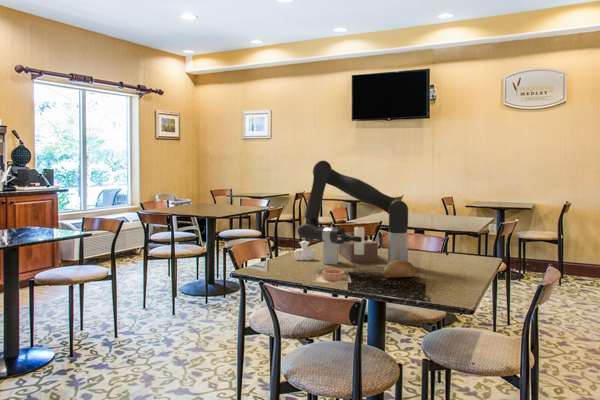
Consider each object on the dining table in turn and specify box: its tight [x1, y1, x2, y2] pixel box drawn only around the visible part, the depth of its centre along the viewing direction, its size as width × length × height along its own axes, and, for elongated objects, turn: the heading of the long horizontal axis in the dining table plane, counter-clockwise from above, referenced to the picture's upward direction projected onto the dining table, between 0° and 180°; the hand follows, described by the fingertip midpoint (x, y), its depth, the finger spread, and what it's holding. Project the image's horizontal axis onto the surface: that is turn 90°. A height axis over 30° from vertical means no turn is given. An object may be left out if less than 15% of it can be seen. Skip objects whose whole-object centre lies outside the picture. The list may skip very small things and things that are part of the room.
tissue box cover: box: [338, 238, 379, 264], centre depth 266 cm, size 26×14×10 cm, turn 10°
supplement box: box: [322, 241, 339, 265], centre depth 251 cm, size 7×7×13 cm
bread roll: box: [382, 260, 417, 279], centre depth 217 cm, size 10×15×8 cm, turn 96°
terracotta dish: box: [321, 268, 345, 281], centre depth 210 cm, size 9×9×3 cm
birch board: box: [315, 273, 352, 284], centre depth 210 cm, size 15×15×2 cm
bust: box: [293, 240, 317, 262], centre depth 261 cm, size 12×8×11 cm
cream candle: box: [353, 224, 365, 255], centre depth 216 cm, size 4×4×13 cm
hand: (364, 239), depth 214 cm, fingers closed on cream candle, 4 cm apart
